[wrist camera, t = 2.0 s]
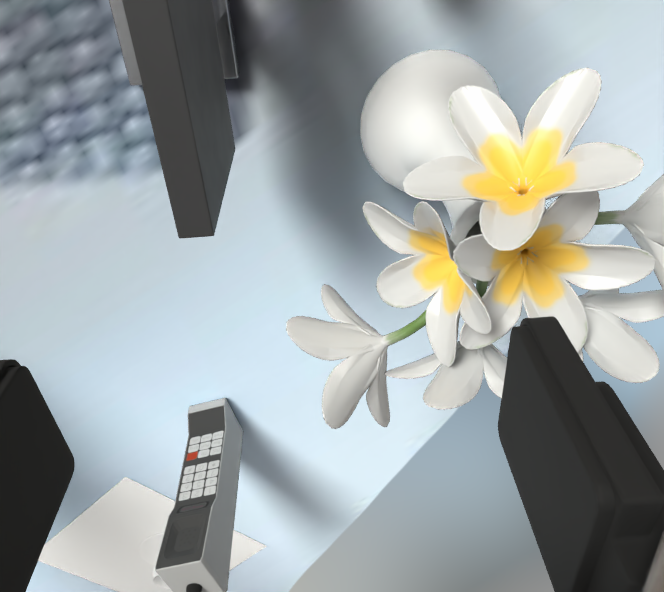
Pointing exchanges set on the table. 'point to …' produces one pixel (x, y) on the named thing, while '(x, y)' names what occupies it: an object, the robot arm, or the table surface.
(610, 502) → the robot arm
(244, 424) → the table surface
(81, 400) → the table surface
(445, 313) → the flower vase
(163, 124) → the monitor
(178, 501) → the vintage mobile phone
